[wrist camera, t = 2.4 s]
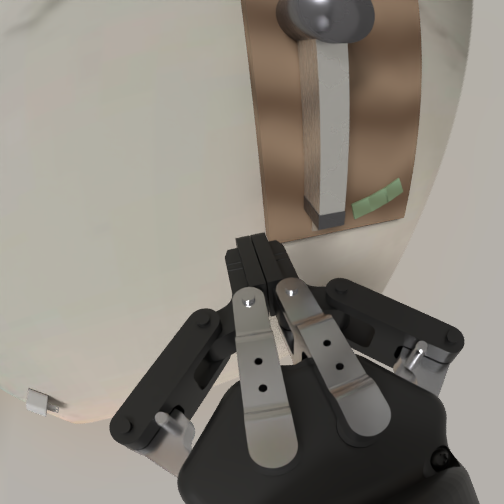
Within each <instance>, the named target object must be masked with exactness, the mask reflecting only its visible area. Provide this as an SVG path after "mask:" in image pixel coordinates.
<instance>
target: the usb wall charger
mask: <svg viewBox="0 0 504 504" xmlns="http://www.w3.org/2000/svg"><path fill="white" fill-rule="evenodd" d="M56 407H57V406H54V405H51V404H48V395H45V394H42V393H40V392H37V391H34V390H32V389H28V394H27V400H26V408H27V410H29V411H32V412H35V413H37V414H40V415H43V416H46V413H47V410H50V411H53V412H56V410H57V411H59V407H57V408H58V409H56ZM57 413H58V412H57Z"/></svg>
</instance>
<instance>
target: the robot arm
mask: <svg viewBox="0 0 504 504" xmlns="http://www.w3.org/2000/svg"><path fill="white" fill-rule="evenodd" d="M236 245H237V248H235V249H230V250H227V253H226V256H225V261H226V266H227V270H228V275H229V280H230V285H231V289H232V299H231V301H230V302H229V304H228V305H227V306H225V307H224V308H222V309H220V310H218V311H214V310H212V309H200V310H197V311H195V312H194V313H193V314H191V316H190V317H189V318H188V319H187V321H186V322H185V323H184V325H183V326H182V327H181V328H180V330H179V331H178V332H177V334H176V335H175V336H174V338H173V339H172V340H171V341H170V343H169V344H168V345H167V347H166V348H165V349H164V351H163V352H162V353H161V354H160V356H159V357H158V358H157V360H156V361H155V362H154V364H153V365H152V366H151V368H150V369H149V370H148V372H147V373H146V374H145V375H144V377H143V378H142V379H141V381H140V382H139V383H138V385H137V386H136V387H135V389H134V390H133V391H132V393H131V394H130V395H129V397H128V398H127V399H126V401H125V402H124V403H123V405H122V406H121V407H120V409H119V410H118V411H117V412H116V414H115V415H114V416H113V418H112V420H111V422H110V433H111V435H112V437H113V439H114V440H116V441H117V442H118V443H120V444H122V445H124V446H126V447H127V448H129V449H130V450H132V451H134V452H137V453H139V454H141V455H144V456H145V457H147V458H148V459H150V460H152V461H153V462H155V463H156V464H157V465H159V466H160V467H162V468H163V469H165V470H166V471H168V472H170V473H171V474H173V475H174V476H176V477H177V478H178V482H177V483H178V490H179V493H180V495H181V497H182V499H183V501H184V502H185V503H186V504H479V501H478V498H477V496H476V493H475V490H474V487H473V485H472V482H471V479H470V477H469V474H468V472H467V470H465V468H464V467H463V466H462V465H461V463H460V462H459V461H458V460H457V459H456V458H455V457H454V455H453V454H452V453H451V451H450V449H449V447H448V444H447V437H446V411H445V408H444V405H443V403H442V402H441V400H440V399H439V398H438V395H439V393H440V390H441V387H442V384H443V382H444V379H445V376H446V373H447V370H448V367H449V365H450V363H451V362H452V361H453V360H454V359H455V357H456V356H457V355H458V354H459V352H460V351H461V350H462V348H463V346H464V337H463V335H462V333H461V332H460V331H459V330H458V329H457V328H455V327H453V326H451V325H449V324H447V323H444V322H442V321H440V320H438V319H436V318H433V317H431V316H429V315H427V314H425V313H422V312H420V311H418V310H416V309H413V308H411V307H409V306H407V305H404V304H402V303H400V302H397V301H395V300H393V299H391V298H389V297H386V296H384V295H382V294H380V293H377V292H375V291H373V290H370V289H368V288H366V287H364V286H361V285H359V284H357V283H354V282H352V281H350V280H347V279H344V278H336V279H333V280H331V281H330V282H328V284H327V286H326V287H314V286H309V285H307V284H306V283H305V282H304V281H302V280H301V279H299V277H298V275H297V273H296V271H295V269H294V267H293V265H292V263H291V261H290V259H289V256H288V254H287V253H286V250H285V248H284V246H283V245H282V244H281V243H280V242H278V241H277V240H273V241H268V240H267V237H266V235H265V233H259V234H254V235H250V236H244V237H240V238H236ZM269 313H270V316H275V315H276V317H277V320H278V328H279V331H280V333H281V335H282V338H283V340H284V342H285V344H286V347H287V349H288V351H289V353H290V356H291V358H292V361H293V365H281V366H280V362H279V357H278V352H277V348H276V343H275V339H274V334H273V331H272V330H271V325H270V321H269ZM351 348H353V349H355V350H357V351H359V352H361V353H363V354H365V355H367V356H369V357H371V358H373V359H375V360H377V361H379V362H381V363H383V364H385V365H387V366H389V367H391V368H393V370H394V373H395V374H394V373H393V372H391V371H389V370H387V369H385V368H383V367H381V366H379V365H377V364H375V363H374V362H372V361H370V360H368V359H366V358H364V357H362V356H359V355H357V354H354V352H353V350H352V349H351ZM235 352H237V359H238V367H239V376H240V381H238V382H236V383H235V384H234V385H233V386H231V387H230V389H228V391H227V392H226V393H225V394H224V396H223V398H222V399H221V401H220V403H219V405H218V406H217V408H216V410H215V412H214V413H213V415H212V417H211V419H210V421H209V422H208V424H207V425H206V427H205V429H204V431H203V432H202V434H201V436H200V437H199V439H198V441H197V442H196V444H195V446H194V447H193V449H191V444H192V440H193V438H194V436H195V428H194V425H193V424H192V422H191V421H190V420H191V418H192V417H193V415H194V414H195V412H196V411H197V409H198V407H199V406H200V404H201V403H202V401H203V400H204V398H205V397H206V395H207V394H208V392H209V391H210V389H211V387H212V386H213V384H214V383H215V381H216V380H217V378H218V376H219V375H220V373H221V372H222V370H223V369H224V367H225V365H226V364H227V362H228V361H229V359H230V356H231V355H232V354H234V353H235Z"/></svg>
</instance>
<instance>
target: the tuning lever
mask: <svg viewBox="0 0 504 504" xmlns="http://www.w3.org/2000/svg"><path fill="white" fill-rule="evenodd" d="M276 19H277V22H278V24H279V26H280V28H281V29H282V30H283V32H284V33H285V34H286V35H287V36H289V37H290V38H291V39H293V40H295V41H297V45H298V57H299V69H300V83H301V100H302V119H303V144H304V195H305V196H304V210H305V211H306V213H307V214H308V216H309V217H310V219H311V220H312V222H313V223H314V225H315V226H316V227H317V229H318V230H322V229H327V228H332V227H337V226H342V225H344V222H345V212H346V211H345V201H346V188H347V173H348V153H349V61H348V43H354V42H358V41H360V40H362V39H364V38H365V37H366V36H367V35H368V34H369V33H370V31H371V30H372V28H373V25H374V21H375V12H374V7H373V4H372V1H371V0H279V1H278V4H277V6H276Z"/></svg>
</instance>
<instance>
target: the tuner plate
mask: <svg viewBox="0 0 504 504" xmlns="http://www.w3.org/2000/svg"><path fill="white" fill-rule="evenodd" d="M278 1H279V0H241V5H242V13H243V21H244V29H245V37H246V45H247V54H248V62H249V71H250V79H251V88H252V97H253V106H254V115H255V125H256V134H257V144H258V154H259V164H260V174H261V184H262V194H263V205H264V216H265V227H266V236H267V238H268V240H269V241H273V240H277V241H278V242H280V243H283V242H288V241H293V240H298V239H302V238H307V237H312V236H317V235H322V234H327V233H332V232H336V231H341V230H346V229H351V228H356V227H361V226H366V225H370V224H375V223H380V222H385V221H390V220H395V219H400V218H404V215H405V210H406V206H407V201H408V196H409V190H410V185H411V179H412V173H413V167H414V160H415V153H416V145H417V137H418V127H419V116H420V101H421V75H422V54H421V29H420V16H419V6H418V0H371V1H372V4H373V7H374V12H375V21H374V25H373V28H372V30H371V31H370V33H369V34H368V35H367V36H366V37H365V38H364V39H362V40H360V41H358V42H354V43H348V61H349V153H348V173H347V188H346V201H345V211H346V212H345V222H344V225H342V226H337V227H332V228H327V229H322V230H318V229H317V227H316V226H315V225H314V223H313V222H312V220H311V219H310V217H309V216H308V214H307V213H306V211H305V210H304V196H305V195H304V144H303V119H302V100H301V83H300V69H299V57H298V45H297V41H295V40H293V39H291V38H290V37H289V36H287V35H286V34H285V33H284V32H283V30H282V29H281V28H280V26H279V24H278V22H277V19H276V6H277V4H278Z"/></svg>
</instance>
